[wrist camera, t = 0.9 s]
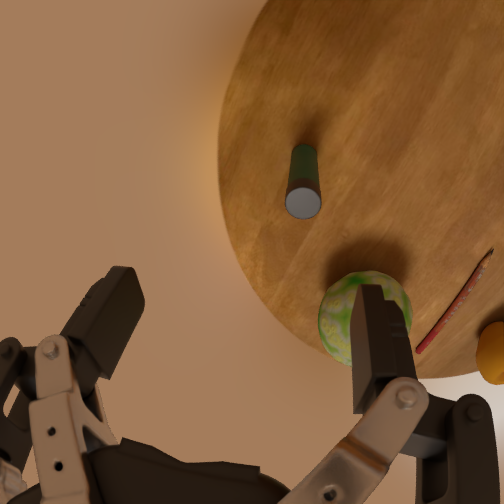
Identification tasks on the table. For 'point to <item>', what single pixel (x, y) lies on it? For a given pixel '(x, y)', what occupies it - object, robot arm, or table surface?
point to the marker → (303, 184)
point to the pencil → (455, 303)
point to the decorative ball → (341, 304)
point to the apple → (491, 353)
